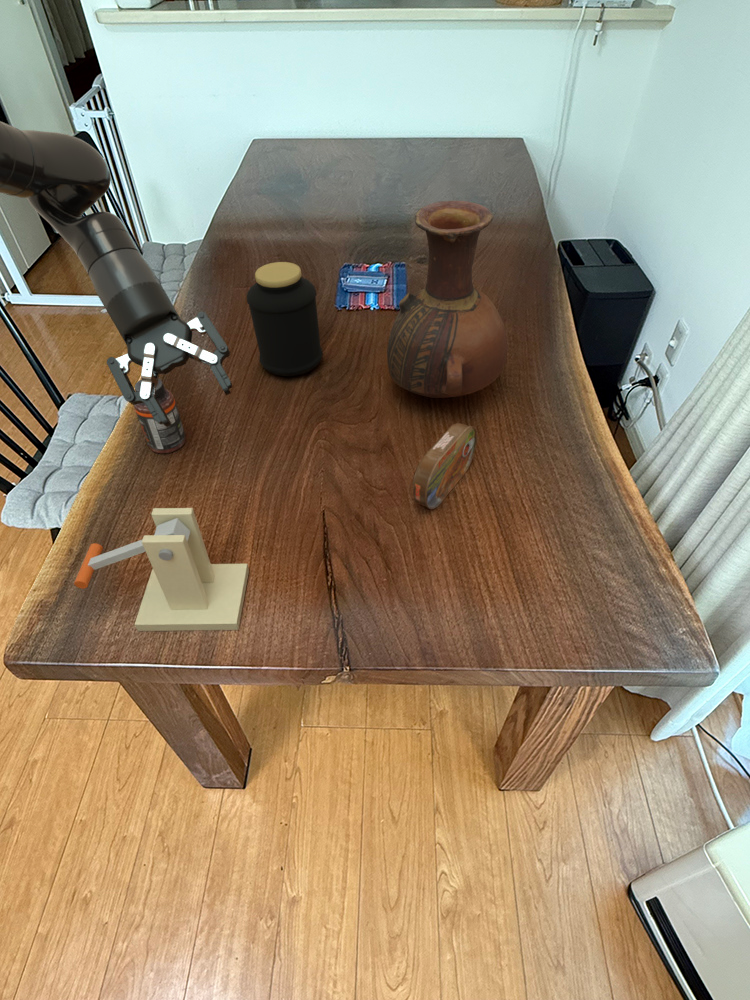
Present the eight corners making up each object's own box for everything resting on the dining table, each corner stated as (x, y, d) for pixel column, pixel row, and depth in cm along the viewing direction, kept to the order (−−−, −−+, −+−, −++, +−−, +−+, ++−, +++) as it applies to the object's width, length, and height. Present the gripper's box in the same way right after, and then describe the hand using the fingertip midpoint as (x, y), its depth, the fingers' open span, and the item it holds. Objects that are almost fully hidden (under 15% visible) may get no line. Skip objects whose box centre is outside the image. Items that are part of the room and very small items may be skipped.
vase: (378, 358, 113) (377, 187, 92) (480, 350, 115) (503, 181, 93) (398, 440, 96) (402, 254, 74) (518, 430, 97) (556, 244, 76)
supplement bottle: (145, 437, 97) (124, 378, 89) (182, 427, 98) (164, 368, 90) (152, 459, 93) (130, 399, 85) (190, 449, 95) (172, 389, 86)
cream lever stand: (137, 631, 71) (98, 557, 61) (156, 571, 77) (124, 495, 68) (238, 630, 71) (215, 556, 61) (249, 570, 77) (230, 494, 68)
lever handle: (83, 592, 68) (67, 580, 67) (99, 554, 72) (84, 542, 71) (183, 557, 64) (168, 544, 62) (194, 519, 68) (180, 506, 66)
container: (244, 369, 111) (226, 274, 98) (288, 341, 117) (276, 249, 105) (294, 391, 106) (282, 294, 93) (336, 360, 112) (330, 267, 100)
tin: (426, 520, 83) (430, 476, 77) (407, 511, 84) (409, 467, 79) (476, 461, 92) (482, 417, 86) (457, 453, 93) (463, 410, 87)
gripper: (70, 312, 71) (139, 431, 72) (178, 259, 73) (245, 375, 73) (92, 332, 78) (155, 439, 79) (189, 283, 80) (250, 388, 81)
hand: (198, 408), depth 76 cm, fingers open, 8 cm apart
